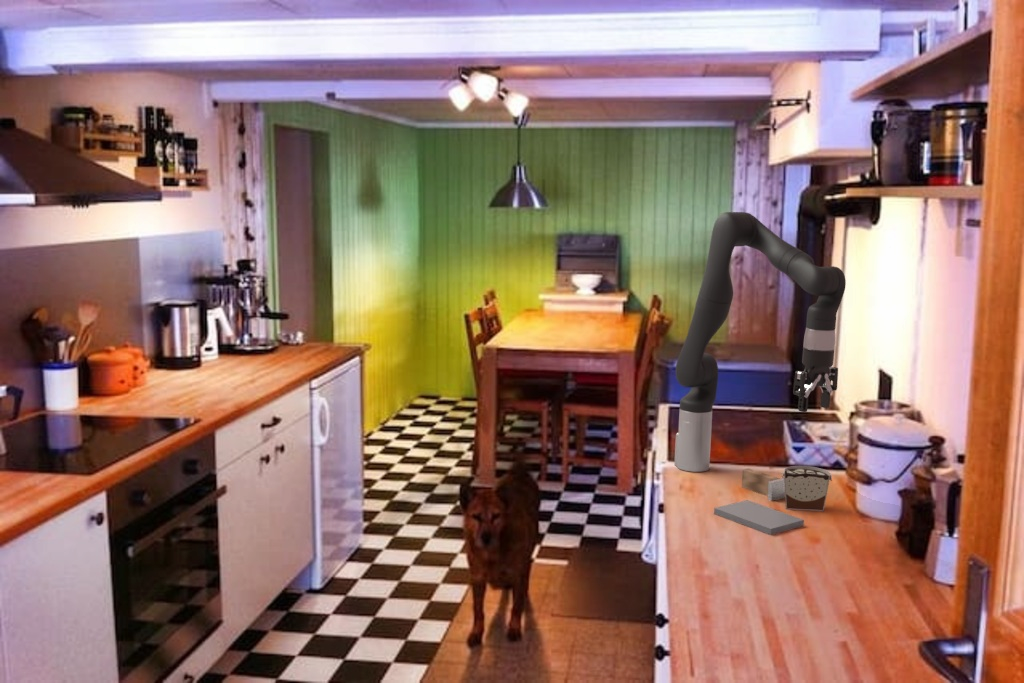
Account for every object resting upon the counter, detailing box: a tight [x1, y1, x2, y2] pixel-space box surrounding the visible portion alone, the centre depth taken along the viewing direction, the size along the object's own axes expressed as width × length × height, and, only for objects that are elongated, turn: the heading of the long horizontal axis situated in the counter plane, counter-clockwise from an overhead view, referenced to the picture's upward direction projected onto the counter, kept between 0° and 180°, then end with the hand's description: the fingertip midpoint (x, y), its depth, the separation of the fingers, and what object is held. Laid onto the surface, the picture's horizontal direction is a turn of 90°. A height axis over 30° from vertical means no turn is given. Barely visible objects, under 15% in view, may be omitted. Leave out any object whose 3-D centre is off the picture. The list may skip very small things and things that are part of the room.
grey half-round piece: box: [781, 465, 833, 512], centre depth 263 cm, size 12×6×10 cm, turn 84°
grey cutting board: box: [713, 499, 805, 536], centre depth 253 cm, size 18×12×2 cm, turn 36°
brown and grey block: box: [741, 468, 785, 502], centre depth 275 cm, size 12×7×5 cm, turn 36°
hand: (813, 409), depth 260 cm, fingers open, 8 cm apart
